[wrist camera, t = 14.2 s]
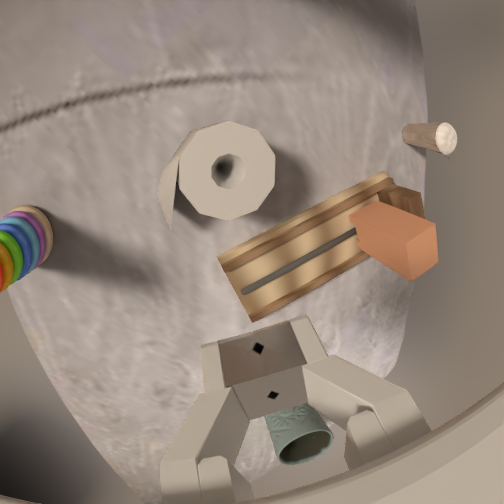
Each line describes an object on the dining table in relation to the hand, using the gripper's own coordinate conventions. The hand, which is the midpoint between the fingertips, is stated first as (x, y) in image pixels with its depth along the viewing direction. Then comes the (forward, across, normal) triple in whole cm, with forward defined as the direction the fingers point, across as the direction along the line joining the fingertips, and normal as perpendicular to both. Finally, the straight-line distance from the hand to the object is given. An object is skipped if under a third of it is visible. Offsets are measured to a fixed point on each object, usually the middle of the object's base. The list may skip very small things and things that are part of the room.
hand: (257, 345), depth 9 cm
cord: (+29, -11, +17) cm, 36 cm away
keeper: (+30, -19, +16) cm, 39 cm away
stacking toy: (+28, +24, +2) cm, 37 cm away
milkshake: (+34, -31, +6) cm, 46 cm away
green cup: (+26, -1, +46) cm, 53 cm away
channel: (+30, -12, +17) cm, 37 cm away
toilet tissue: (+31, +1, +3) cm, 31 cm away
